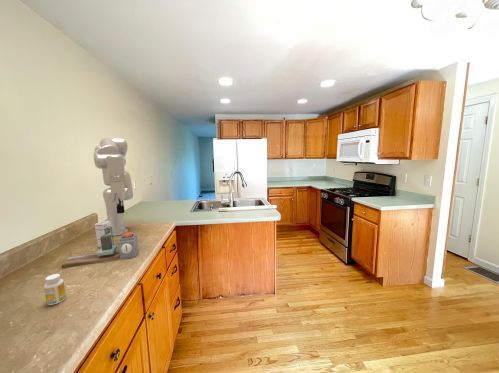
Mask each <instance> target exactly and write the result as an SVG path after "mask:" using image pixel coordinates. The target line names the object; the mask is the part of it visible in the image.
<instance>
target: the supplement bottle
mask: <svg viewBox="0 0 499 373" xmlns="http://www.w3.org/2000/svg"><path fill="white" fill-rule="evenodd" d="M43 289H44V296H45V302H46V304H47V305H48V306H55V305H58V304H59V303H62V302H63V301H64V300H65V299H66V297H67V295H66V288H65V281H64V279H62V278H61V274H60V273H54V274H50V275H48V276H47V277H45V284H44V285H43ZM54 304H55V305H54Z"/></svg>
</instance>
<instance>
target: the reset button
mask: <svg viewBox="0 0 499 373" xmlns="http://www.w3.org/2000/svg"><path fill="white" fill-rule="evenodd" d="M132 234H133V231H127V232H125V233H123V234H122V235H123V238H130V237H133V236H132Z"/></svg>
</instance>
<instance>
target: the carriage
mask: <svg viewBox="0 0 499 373" xmlns="http://www.w3.org/2000/svg"><path fill="white" fill-rule="evenodd" d="M100 239H101V247H100V249H99V250H98V251H97V252H96V253H97V256H102V255H109V254H114V252H115V250H118V249H117V248H118V244H115V245H114V244H112V238H111V235H103V236H101V237H100Z"/></svg>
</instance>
